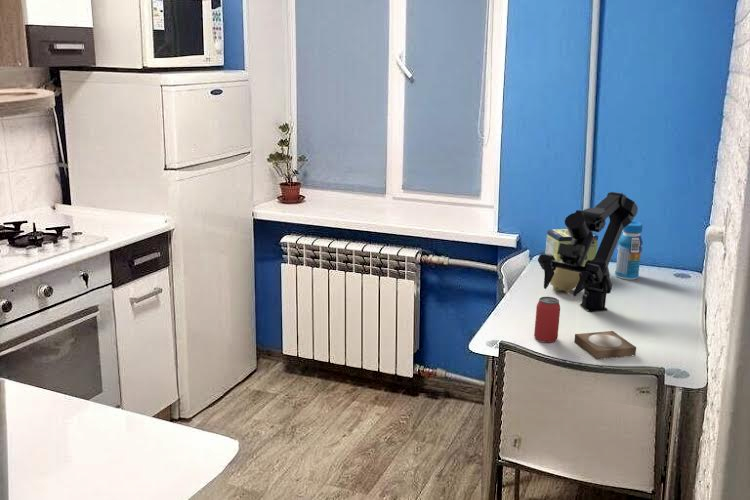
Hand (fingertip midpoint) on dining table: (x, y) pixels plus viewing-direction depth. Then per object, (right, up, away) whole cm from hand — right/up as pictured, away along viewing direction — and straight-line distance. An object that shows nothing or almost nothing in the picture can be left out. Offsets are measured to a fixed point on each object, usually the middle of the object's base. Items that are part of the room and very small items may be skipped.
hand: (559, 291), depth 221 cm
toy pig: (+12, -2, +40) cm, 41 cm away
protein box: (+18, +3, +59) cm, 62 cm away
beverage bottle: (+38, +2, +56) cm, 68 cm away
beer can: (-4, -14, -1) cm, 14 cm away
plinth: (+11, -16, -7) cm, 20 cm away
